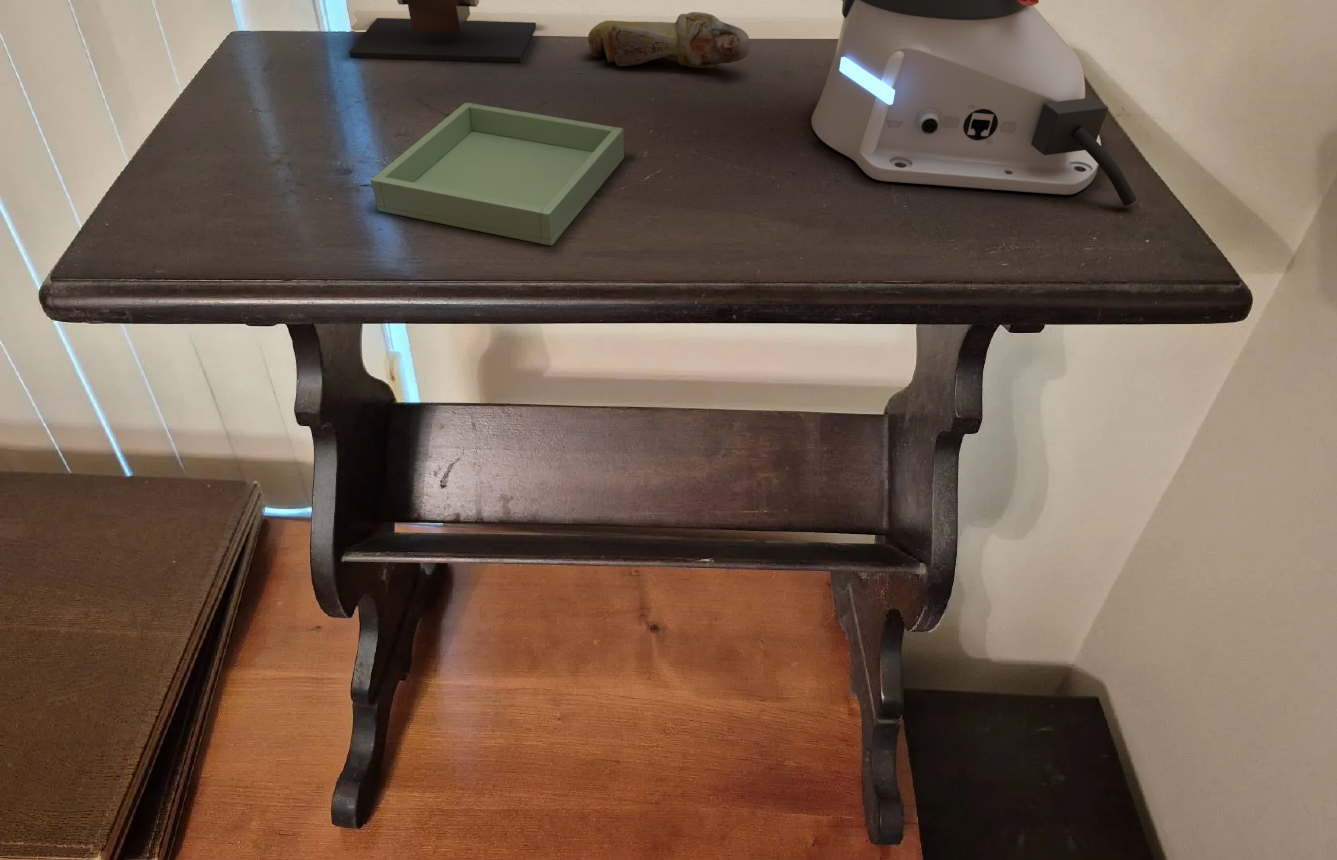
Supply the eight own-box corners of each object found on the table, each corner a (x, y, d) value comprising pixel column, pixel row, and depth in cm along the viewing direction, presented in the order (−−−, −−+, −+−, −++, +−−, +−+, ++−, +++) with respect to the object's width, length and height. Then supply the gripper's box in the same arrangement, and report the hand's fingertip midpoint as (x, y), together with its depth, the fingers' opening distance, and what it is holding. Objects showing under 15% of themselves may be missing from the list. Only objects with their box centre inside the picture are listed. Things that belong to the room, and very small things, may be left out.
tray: (624, 157, 68) (623, 127, 66) (551, 246, 59) (549, 214, 57) (469, 130, 71) (465, 101, 69) (377, 210, 62) (369, 179, 60)
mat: (536, 27, 88) (535, 22, 87) (520, 62, 81) (519, 57, 81) (378, 22, 88) (376, 17, 88) (349, 57, 82) (348, 51, 81)
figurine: (576, 40, 79) (732, 41, 73) (596, -4, 81) (750, -7, 75) (596, 83, 83) (745, 87, 78) (614, 41, 85) (761, 42, 80)
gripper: (541, -178, 74) (554, -5, 84) (303, -184, 75) (343, -11, 85) (529, -163, 70) (544, 18, 79) (276, -169, 70) (321, 12, 80)
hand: (438, 3), depth 82 cm, fingers closed on block, 4 cm apart
